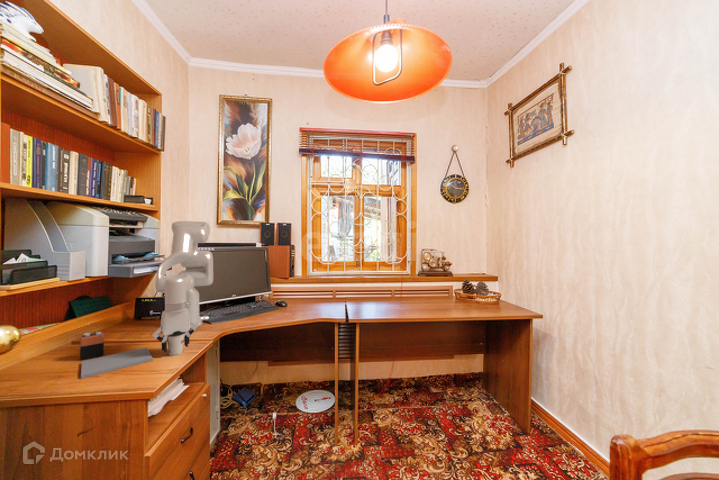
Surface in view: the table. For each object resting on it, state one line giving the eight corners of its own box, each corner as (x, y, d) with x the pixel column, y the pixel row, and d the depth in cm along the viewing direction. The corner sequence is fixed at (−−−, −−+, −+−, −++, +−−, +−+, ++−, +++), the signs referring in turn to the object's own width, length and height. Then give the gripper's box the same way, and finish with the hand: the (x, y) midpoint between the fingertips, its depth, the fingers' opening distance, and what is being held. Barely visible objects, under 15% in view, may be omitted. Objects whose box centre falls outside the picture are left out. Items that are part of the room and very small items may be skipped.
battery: (81, 357, 111) (81, 333, 111) (104, 353, 115) (104, 329, 115) (79, 361, 107) (79, 336, 107) (103, 356, 112) (103, 332, 112)
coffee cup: (164, 358, 110) (164, 334, 110) (166, 352, 116) (166, 329, 116) (185, 354, 113) (185, 331, 113) (185, 348, 119) (185, 326, 119)
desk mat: (146, 349, 119) (146, 346, 119) (152, 360, 108) (152, 357, 108) (81, 363, 105) (81, 361, 105) (80, 378, 94) (80, 375, 94)
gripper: (196, 301, 123) (196, 340, 123) (148, 308, 111) (148, 351, 111) (201, 304, 118) (201, 345, 118) (151, 312, 106) (151, 357, 106)
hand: (175, 348), depth 114 cm, fingers closed on coffee cup, 7 cm apart
